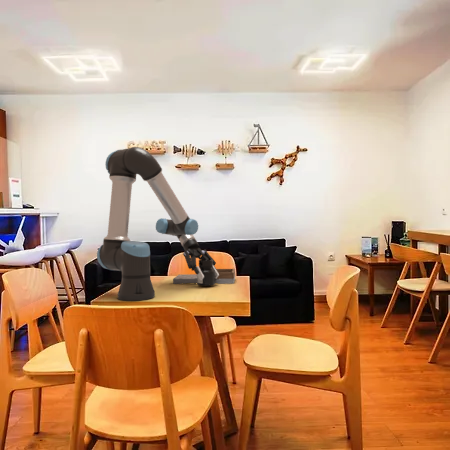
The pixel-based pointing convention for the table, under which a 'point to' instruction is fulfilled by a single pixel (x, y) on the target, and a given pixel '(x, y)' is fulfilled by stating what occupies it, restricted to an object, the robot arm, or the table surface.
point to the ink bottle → (206, 273)
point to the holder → (226, 273)
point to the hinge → (193, 279)
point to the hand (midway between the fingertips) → (210, 277)
